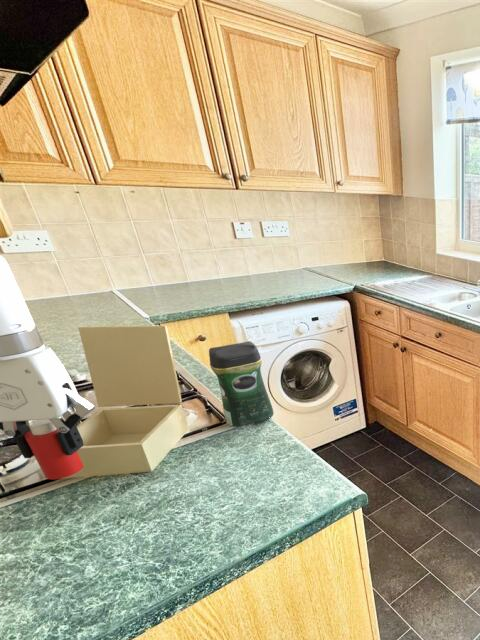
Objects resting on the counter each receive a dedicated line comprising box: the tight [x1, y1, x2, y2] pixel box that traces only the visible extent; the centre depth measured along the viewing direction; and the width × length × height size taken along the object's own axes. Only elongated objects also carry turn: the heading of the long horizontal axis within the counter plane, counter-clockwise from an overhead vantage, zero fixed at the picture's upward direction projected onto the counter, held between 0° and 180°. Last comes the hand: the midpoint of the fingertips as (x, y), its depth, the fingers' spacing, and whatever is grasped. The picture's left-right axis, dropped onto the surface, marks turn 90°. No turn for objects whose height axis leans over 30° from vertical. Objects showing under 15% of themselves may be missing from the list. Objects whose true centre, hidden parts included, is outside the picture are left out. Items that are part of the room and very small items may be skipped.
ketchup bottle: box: [25, 419, 83, 481], centre depth 66 cm, size 4×4×9 cm
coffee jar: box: [208, 340, 275, 428], centre depth 95 cm, size 10×8×19 cm
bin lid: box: [77, 325, 183, 408], centre depth 86 cm, size 16×15×1 cm
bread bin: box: [60, 404, 190, 480], centre depth 82 cm, size 16×15×7 cm
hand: (54, 450), depth 66 cm, fingers closed on ketchup bottle, 4 cm apart
